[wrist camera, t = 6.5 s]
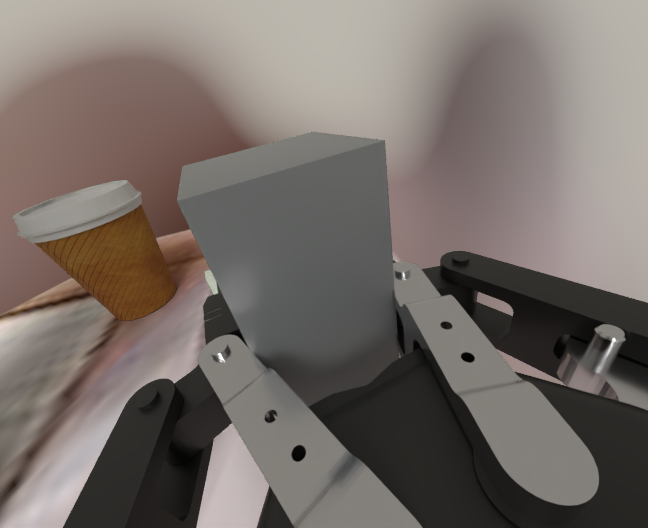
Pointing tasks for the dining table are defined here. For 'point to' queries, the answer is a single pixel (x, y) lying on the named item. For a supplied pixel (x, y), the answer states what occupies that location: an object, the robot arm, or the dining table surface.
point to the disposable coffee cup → (103, 246)
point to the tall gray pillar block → (302, 255)
